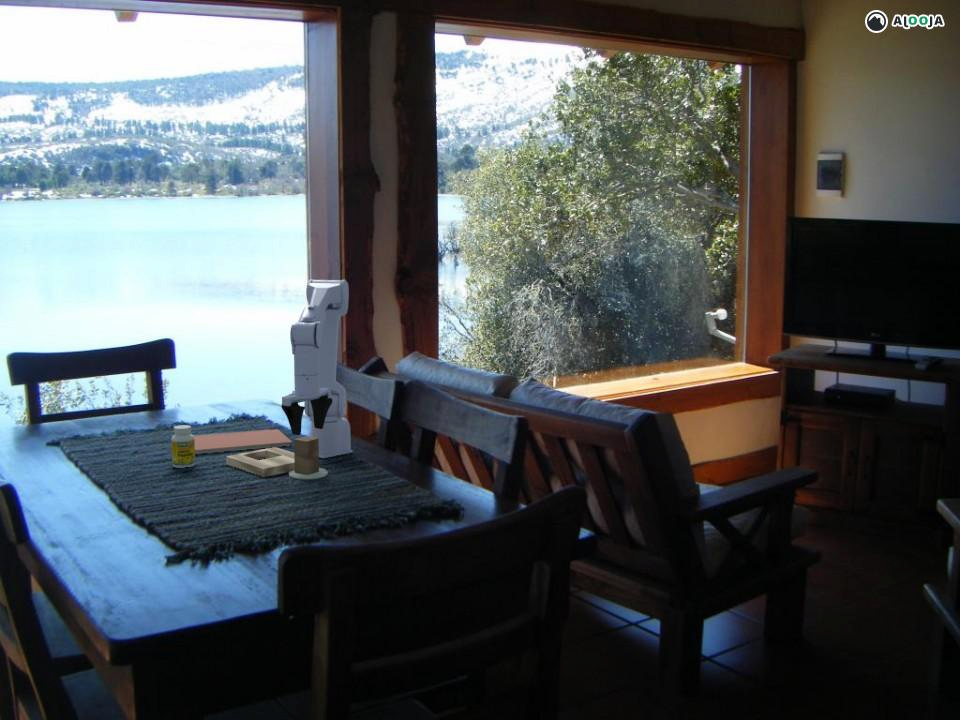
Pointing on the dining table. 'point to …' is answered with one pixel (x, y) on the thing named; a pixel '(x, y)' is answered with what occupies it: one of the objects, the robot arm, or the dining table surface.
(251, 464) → the board
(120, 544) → the dining table surface
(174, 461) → the supplement bottle
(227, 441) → the notebook
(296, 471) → the walnut block
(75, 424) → the dining table surface
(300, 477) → the coaster
